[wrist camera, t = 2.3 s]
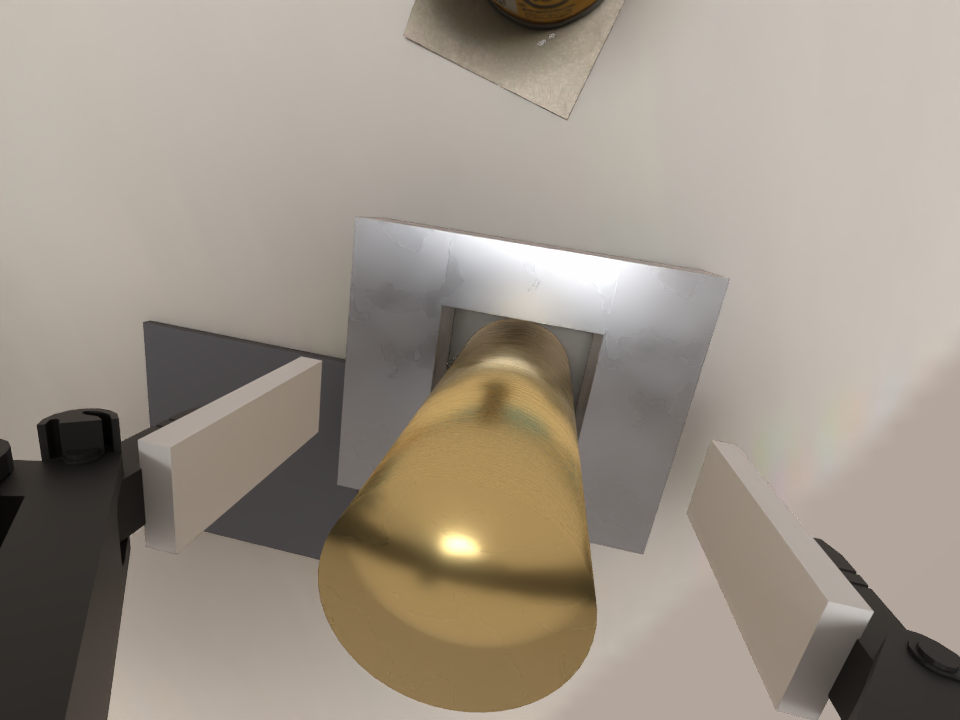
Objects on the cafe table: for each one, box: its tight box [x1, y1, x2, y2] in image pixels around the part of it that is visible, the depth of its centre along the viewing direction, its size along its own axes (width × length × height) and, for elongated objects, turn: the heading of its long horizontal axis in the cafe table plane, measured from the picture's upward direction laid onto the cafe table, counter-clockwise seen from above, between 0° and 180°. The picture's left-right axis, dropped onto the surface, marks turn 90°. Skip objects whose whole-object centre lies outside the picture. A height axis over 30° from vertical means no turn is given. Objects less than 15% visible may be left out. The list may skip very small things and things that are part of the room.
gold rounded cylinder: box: [318, 319, 597, 712], centre depth 15 cm, size 5×5×14 cm
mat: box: [143, 321, 359, 560], centre depth 25 cm, size 12×12×1 cm
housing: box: [337, 217, 730, 554], centre depth 20 cm, size 14×12×3 cm
